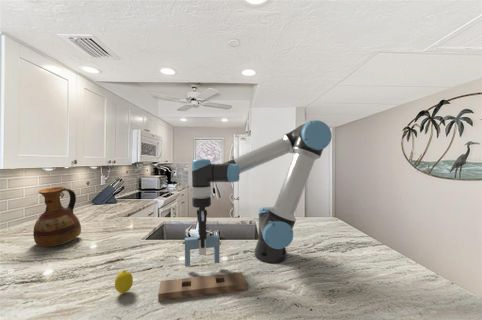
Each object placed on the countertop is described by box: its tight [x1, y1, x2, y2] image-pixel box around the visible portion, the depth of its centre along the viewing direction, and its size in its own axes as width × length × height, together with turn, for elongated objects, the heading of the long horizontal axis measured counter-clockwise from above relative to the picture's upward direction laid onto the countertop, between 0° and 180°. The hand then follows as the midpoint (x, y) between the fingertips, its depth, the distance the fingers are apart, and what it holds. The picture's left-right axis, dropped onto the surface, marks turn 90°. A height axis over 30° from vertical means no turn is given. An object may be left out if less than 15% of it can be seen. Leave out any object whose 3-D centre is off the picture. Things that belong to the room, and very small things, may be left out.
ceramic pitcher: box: [32, 186, 82, 247], centre depth 126 cm, size 20×20×30 cm
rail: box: [157, 272, 248, 302], centre depth 84 cm, size 30×8×2 cm, turn 103°
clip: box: [184, 234, 221, 268], centre depth 98 cm, size 14×3×11 cm, turn 103°
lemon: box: [114, 270, 134, 295], centre depth 81 cm, size 6×6×8 cm
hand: (202, 252), depth 98 cm, fingers closed on clip, 3 cm apart
